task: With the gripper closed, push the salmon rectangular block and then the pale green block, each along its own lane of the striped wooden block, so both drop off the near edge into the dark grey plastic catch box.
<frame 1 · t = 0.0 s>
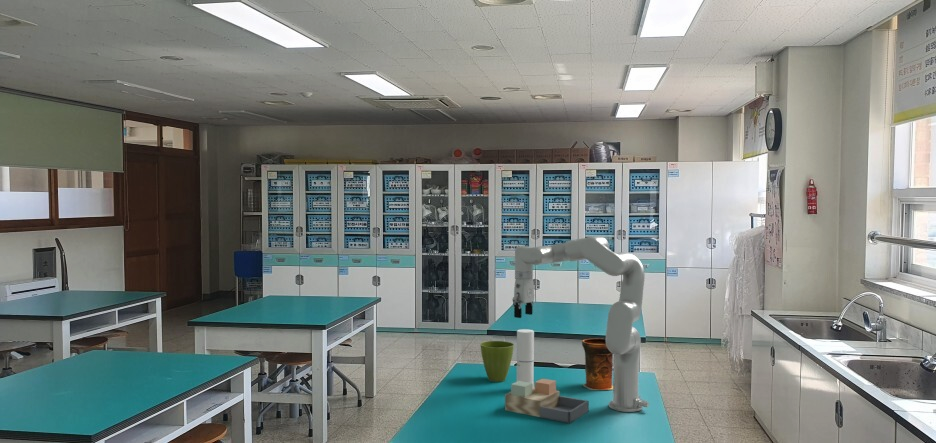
hand: (523, 315, 282), 31 cm above the table, tool pointing down, fingers open, 9 cm apart
cylindrical container: (525, 390, 282), on the table
salmon rectangular block: (545, 391, 258), point 6 cm above the table, touching striped wooden block
striped wooden block: (532, 408, 257), on the table
flower pot: (496, 380, 298), on the table
pale green block: (521, 394, 255), point 6 cm above the table, touching striped wooden block
vessel: (598, 387, 288), on the table
catch box: (564, 414, 249), on the table
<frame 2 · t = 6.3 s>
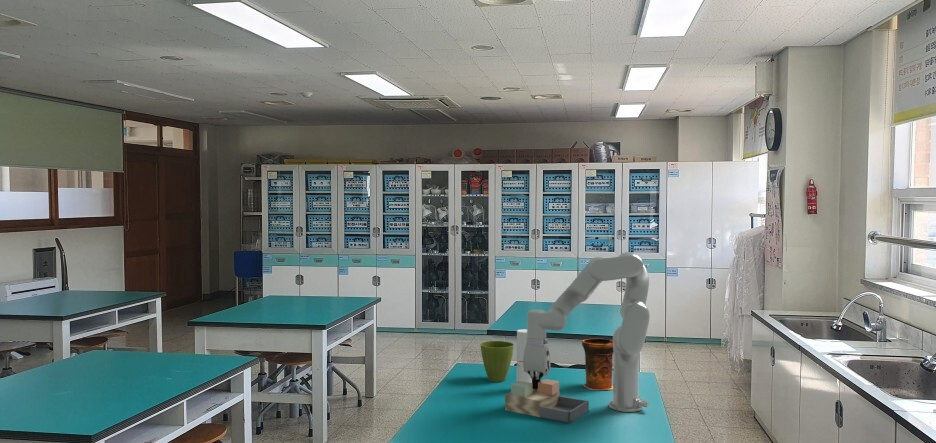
hand: (536, 388, 260), 7 cm above the table, tool pointing down, fingers closed
salmon rectangular block: (548, 392, 257), point 6 cm above the table, touching gripper
everything else where it was.
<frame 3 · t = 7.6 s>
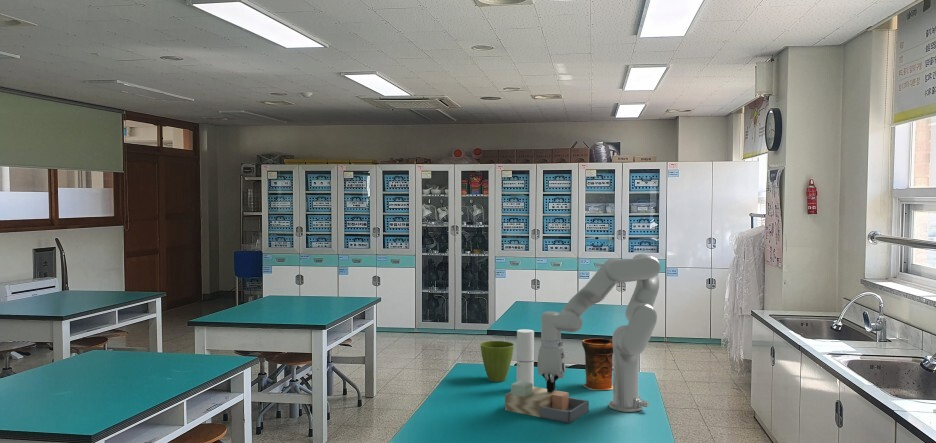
hand: (550, 391, 257), 7 cm above the table, tool pointing down, fingers closed
salmon rectangular block: (555, 400, 255), point 3 cm above the table, tilted 90°, touching catch box
everything else where it was.
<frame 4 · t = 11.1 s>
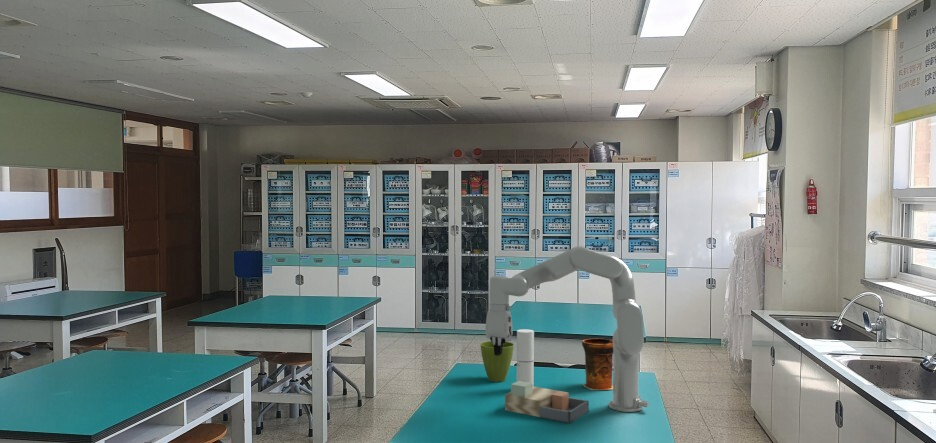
hand: (498, 354, 260), 20 cm above the table, tool pointing down, fingers closed
nothing on the table moved.
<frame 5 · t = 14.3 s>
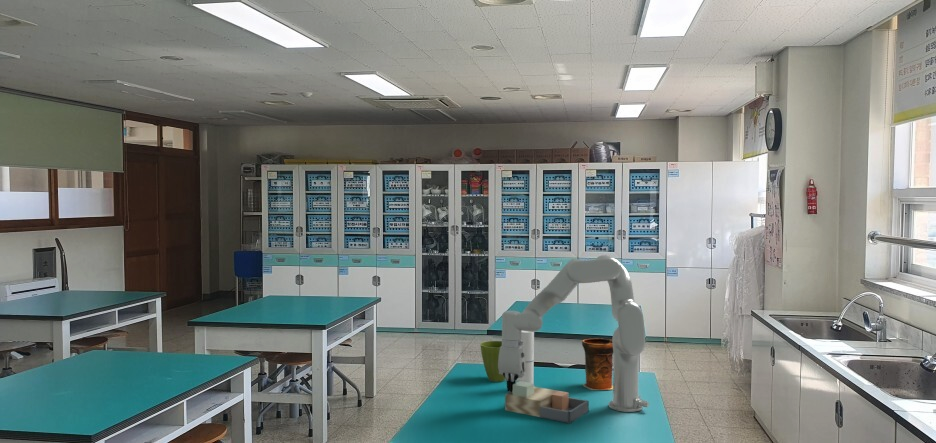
hand: (511, 390, 257), 7 cm above the table, tool pointing down, fingers closed
pale green block: (523, 394, 254), point 6 cm above the table, touching gripper
everything else where it was.
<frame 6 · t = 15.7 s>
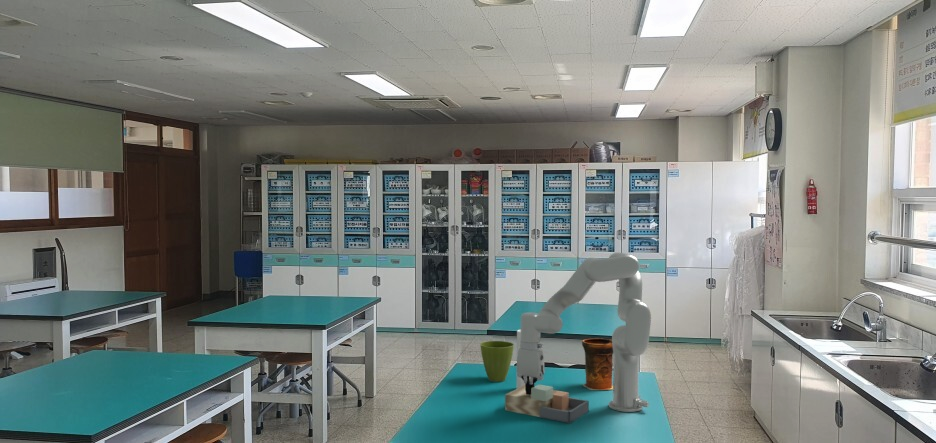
hand: (529, 393, 253), 7 cm above the table, tool pointing down, fingers closed
pale green block: (542, 398, 249), point 6 cm above the table, touching striped wooden block, gripper
everything else where it was.
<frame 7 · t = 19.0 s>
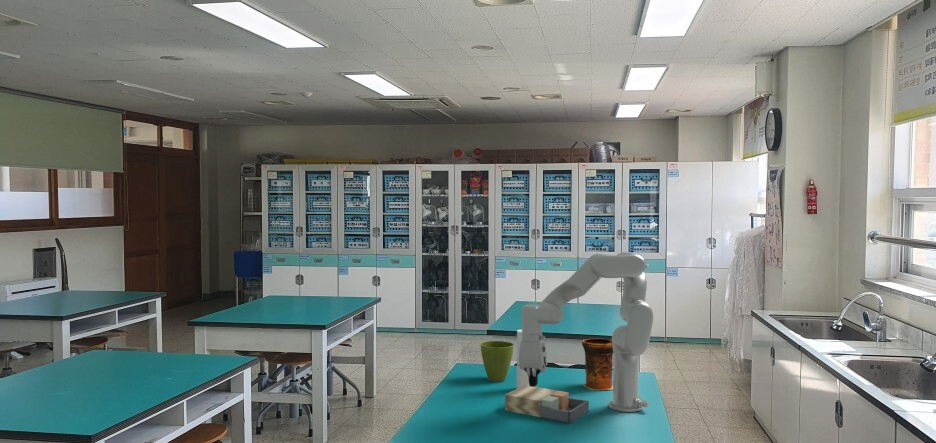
hand: (533, 385, 252), 10 cm above the table, tool pointing down, fingers closed
pale green block: (545, 405, 249), point 3 cm above the table, tilted 90°, touching catch box
everything else where it was.
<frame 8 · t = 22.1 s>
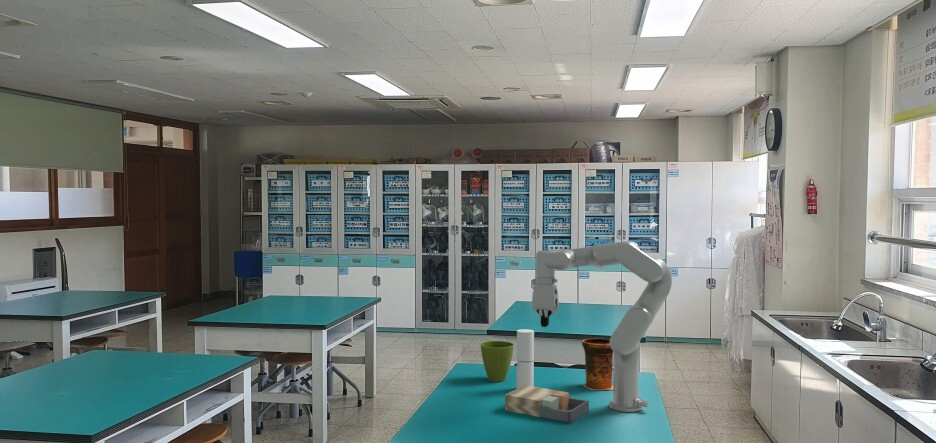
hand: (544, 326, 270), 29 cm above the table, tool pointing down, fingers closed
nothing on the table moved.
at the end: salmon rectangular block inside the target area (6.5 cm from its centre), point 3.4 cm above the table; pale green block inside the target area (7.3 cm from its centre), point 3.4 cm above the table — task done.
